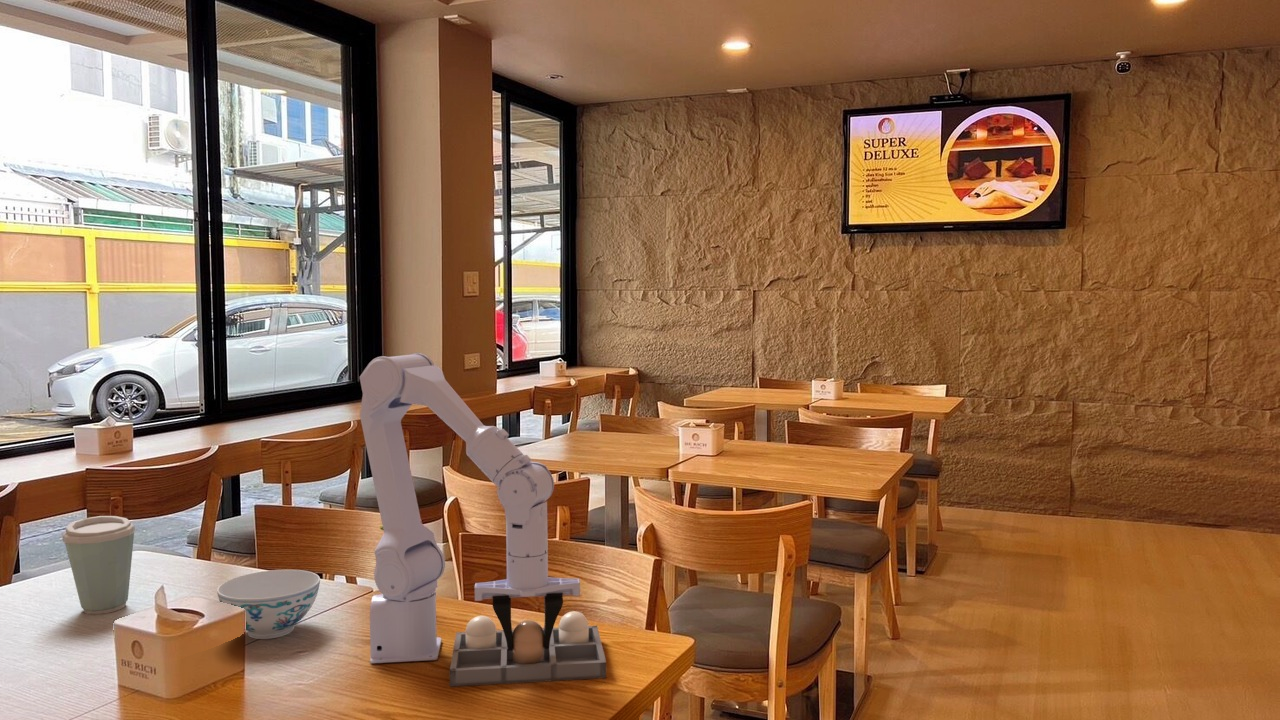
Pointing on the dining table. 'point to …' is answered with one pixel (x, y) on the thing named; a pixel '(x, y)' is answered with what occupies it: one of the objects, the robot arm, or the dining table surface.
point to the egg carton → (490, 662)
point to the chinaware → (271, 599)
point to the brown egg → (528, 643)
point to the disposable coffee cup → (101, 561)
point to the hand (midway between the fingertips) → (528, 647)
